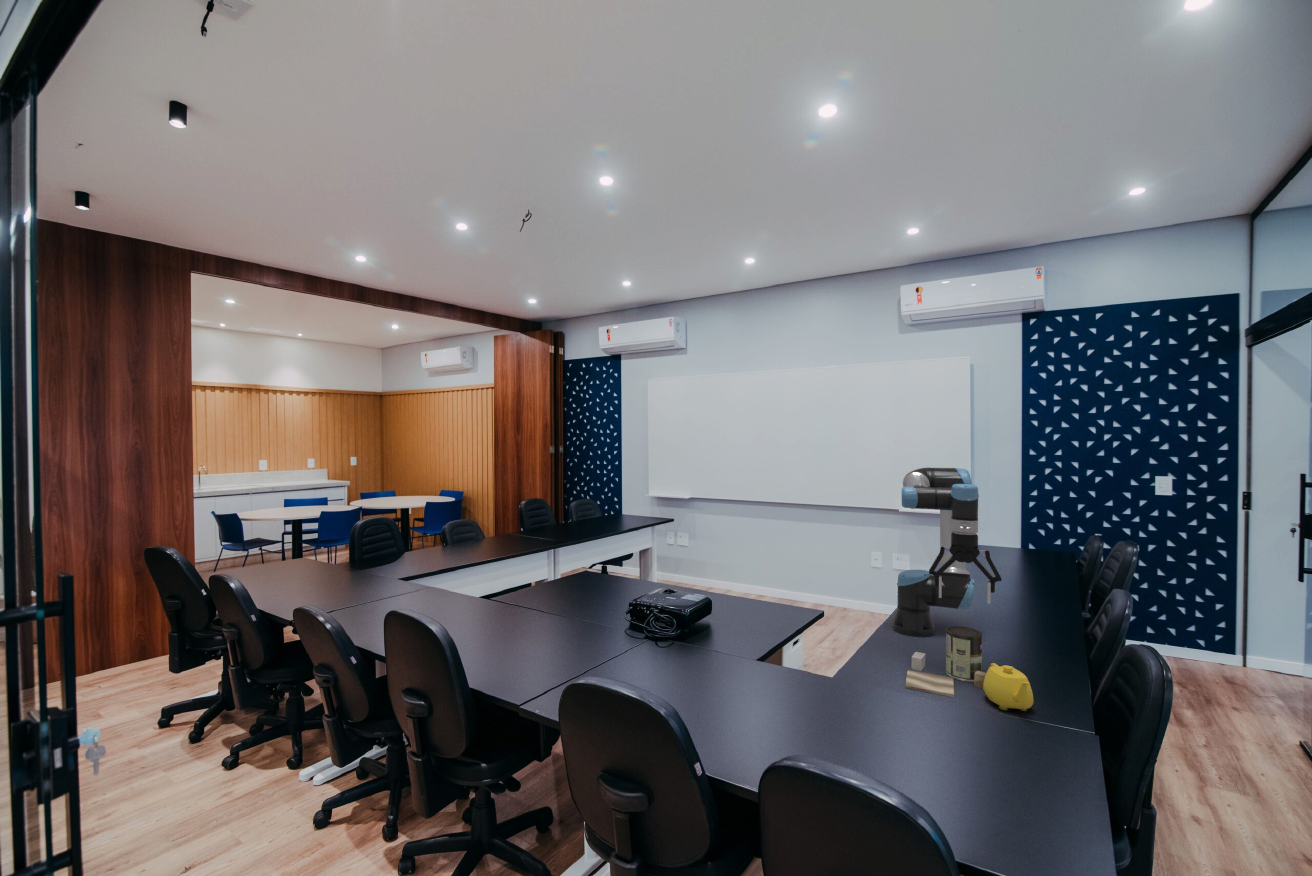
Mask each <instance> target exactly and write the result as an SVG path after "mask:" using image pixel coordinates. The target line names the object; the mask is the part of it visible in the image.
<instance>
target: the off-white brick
mask: <svg viewBox="0 0 1312 876" xmlns="http://www.w3.org/2000/svg"><path fill="white" fill-rule="evenodd" d="M925 667H926V653H925V652H919V651H915V652H914V653H913V655H912V656H911V670H913V671H917V672H922V671H923V669H924V668H925Z"/></svg>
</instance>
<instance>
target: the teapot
mask: <svg viewBox="0 0 1312 876" xmlns="http://www.w3.org/2000/svg"><path fill="white" fill-rule="evenodd" d="M1002 666H1003V667H1002ZM1013 667H1014V666H1013ZM1013 667H1011V666H1010V665H1007V664H1006V665H1005V664H1004V665H1001V666H999V665H998V664H997V663H994V662H992V663H990V666H989V667H988V669H987V671H986V672H985V673H986V675H985V678H984V683H983V688H982V689H983V691H984V694H985V695H986V697H987V698H988V700H989V701H991V702H992V703H993V704H994V703H995V704H996V705H998V709H1000V711H1001V710H1002V711H1008V710H1009V709H1017V710H1019V711H1023V712H1027V711H1028V709H1030V708H1032V706H1033V705H1034V694H1033V693H1034V692H1033V690H1032V686H1031V683H1030V681H1029V678H1028V677H1027V676H1026V675H1025V674H1024V673H1023V672H1021V671H1020V670H1018V669H1016V668H1015V667H1014V668H1015V669H1014V668H1013Z"/></svg>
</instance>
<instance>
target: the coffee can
mask: <svg viewBox="0 0 1312 876" xmlns="http://www.w3.org/2000/svg"><path fill="white" fill-rule="evenodd" d="M982 648H983V632H981V631H980V630H977V629H975V628H972V627H967V626H961V625H960V626H959V625H958V626H957V625H951V626H947V627H945V674H946V675H947V677H951V678H953V680H954V679H955V680H958V681H962V682H966V683H967V682H969V683H974V673H975V672H977V671H981V672H983V671H982V670H983V662H982V661H983V649H982Z"/></svg>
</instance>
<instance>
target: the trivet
mask: <svg viewBox="0 0 1312 876" xmlns="http://www.w3.org/2000/svg"><path fill="white" fill-rule="evenodd" d="M904 688H905V689H908V690H913V691H918V692H922V693H923V692H924V693H929V694H934V695H940V696H944V697H949V698H955V685H954V678H952V677H950V676H945V675H940V674H939V675H938V674H933V673H928V672H922V671H918V670H912V669H910V670H909V669H907V672H906V678H905V687H904Z"/></svg>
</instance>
